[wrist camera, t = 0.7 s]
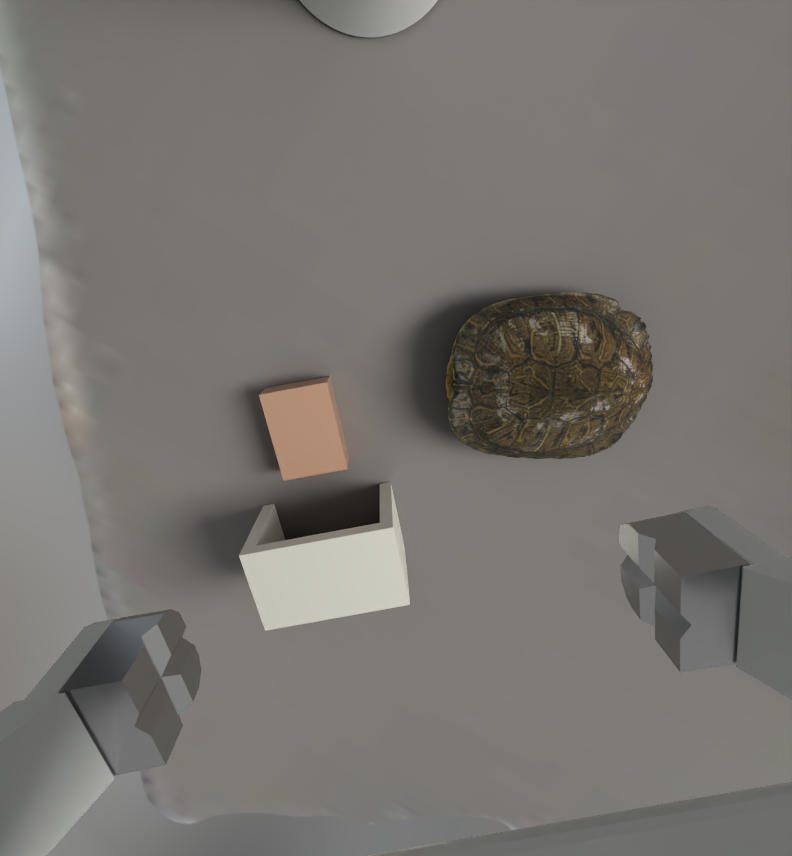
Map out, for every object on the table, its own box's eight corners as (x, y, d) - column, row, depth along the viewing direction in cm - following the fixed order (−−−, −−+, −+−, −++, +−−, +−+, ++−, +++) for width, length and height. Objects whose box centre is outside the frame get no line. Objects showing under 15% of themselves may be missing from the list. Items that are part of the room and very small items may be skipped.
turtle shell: (658, 474, 44) (461, 490, 40) (599, 440, 52) (430, 449, 48) (703, 299, 38) (480, 294, 34) (629, 291, 47) (441, 286, 42)
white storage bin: (263, 505, 50) (238, 555, 41) (390, 481, 49) (393, 527, 41) (284, 570, 52) (265, 630, 44) (404, 548, 52) (410, 604, 43)
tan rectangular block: (266, 387, 46) (258, 394, 43) (330, 375, 46) (326, 382, 43) (289, 468, 49) (283, 480, 46) (349, 457, 49) (347, 469, 46)
